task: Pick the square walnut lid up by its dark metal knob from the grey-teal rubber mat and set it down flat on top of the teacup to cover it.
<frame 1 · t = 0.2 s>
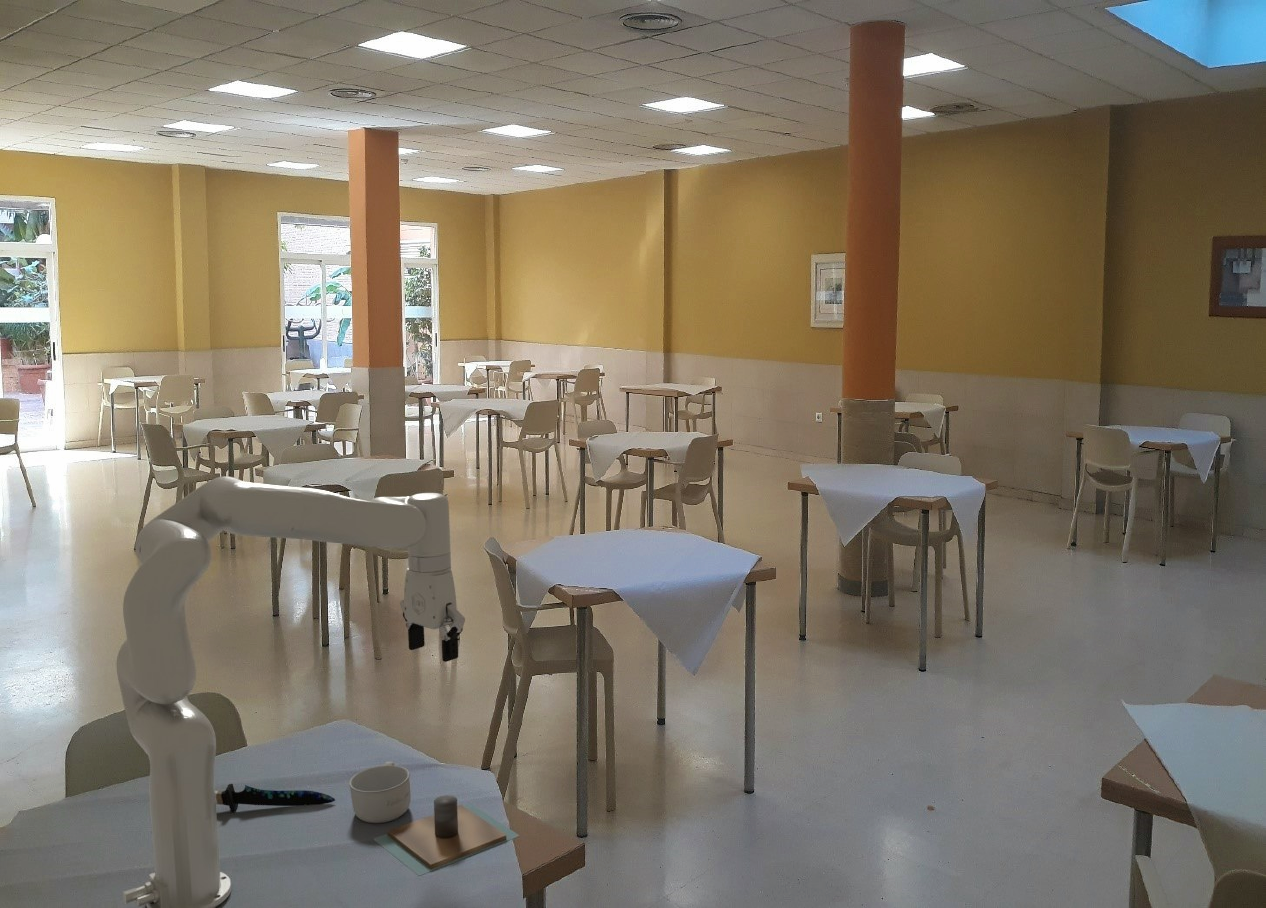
hand: (433, 653, 195), 30 cm above the table, tool pointing down, fingers open, 9 cm apart
teacup: (384, 814, 199), on the table
mat: (446, 842, 188), on the table
knife: (251, 810, 201), on the table
lid: (446, 837, 188), point 1 cm above the table, touching mat
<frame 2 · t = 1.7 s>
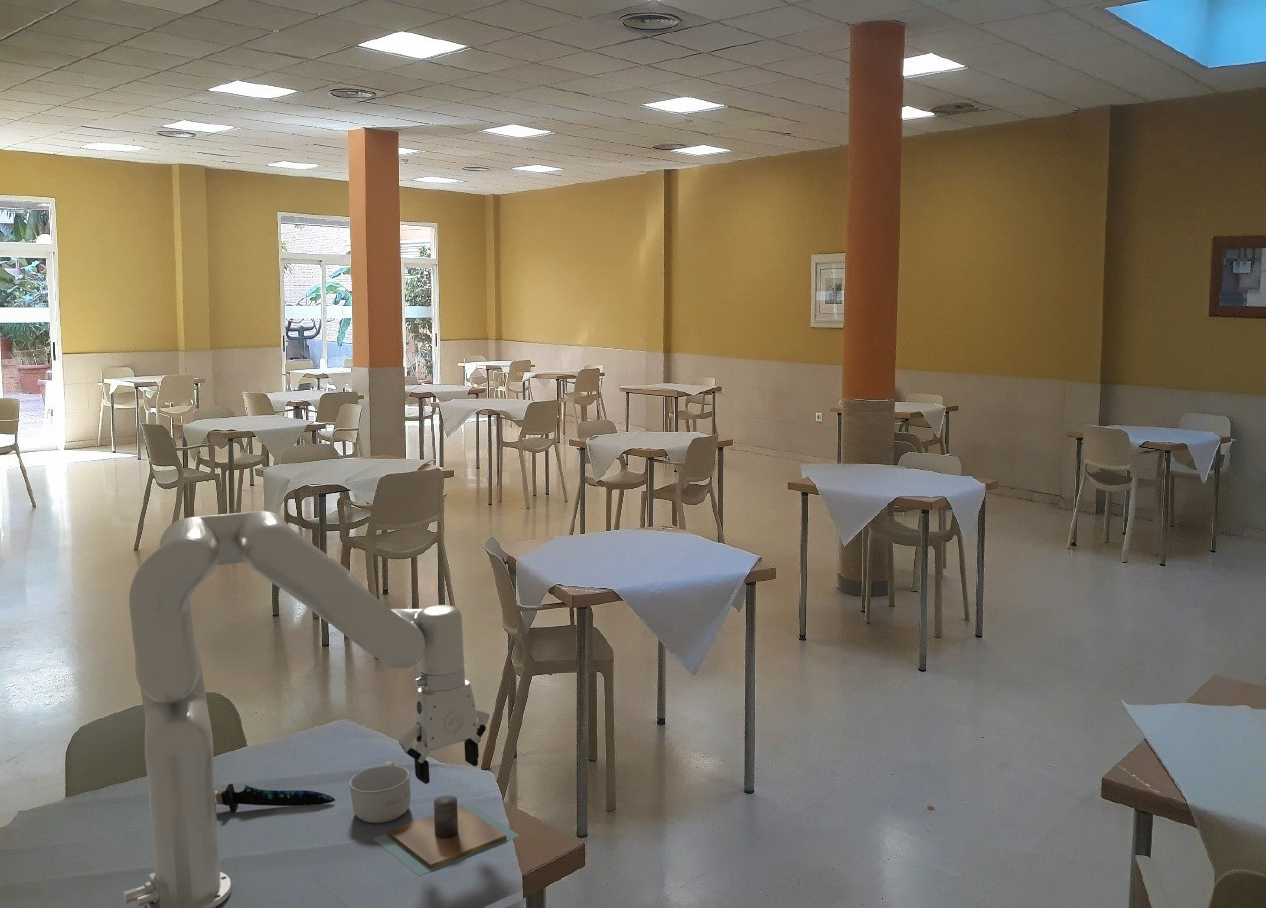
hand: (447, 772, 186), 13 cm above the table, tool pointing down, fingers open, 9 cm apart
nothing on the table moved.
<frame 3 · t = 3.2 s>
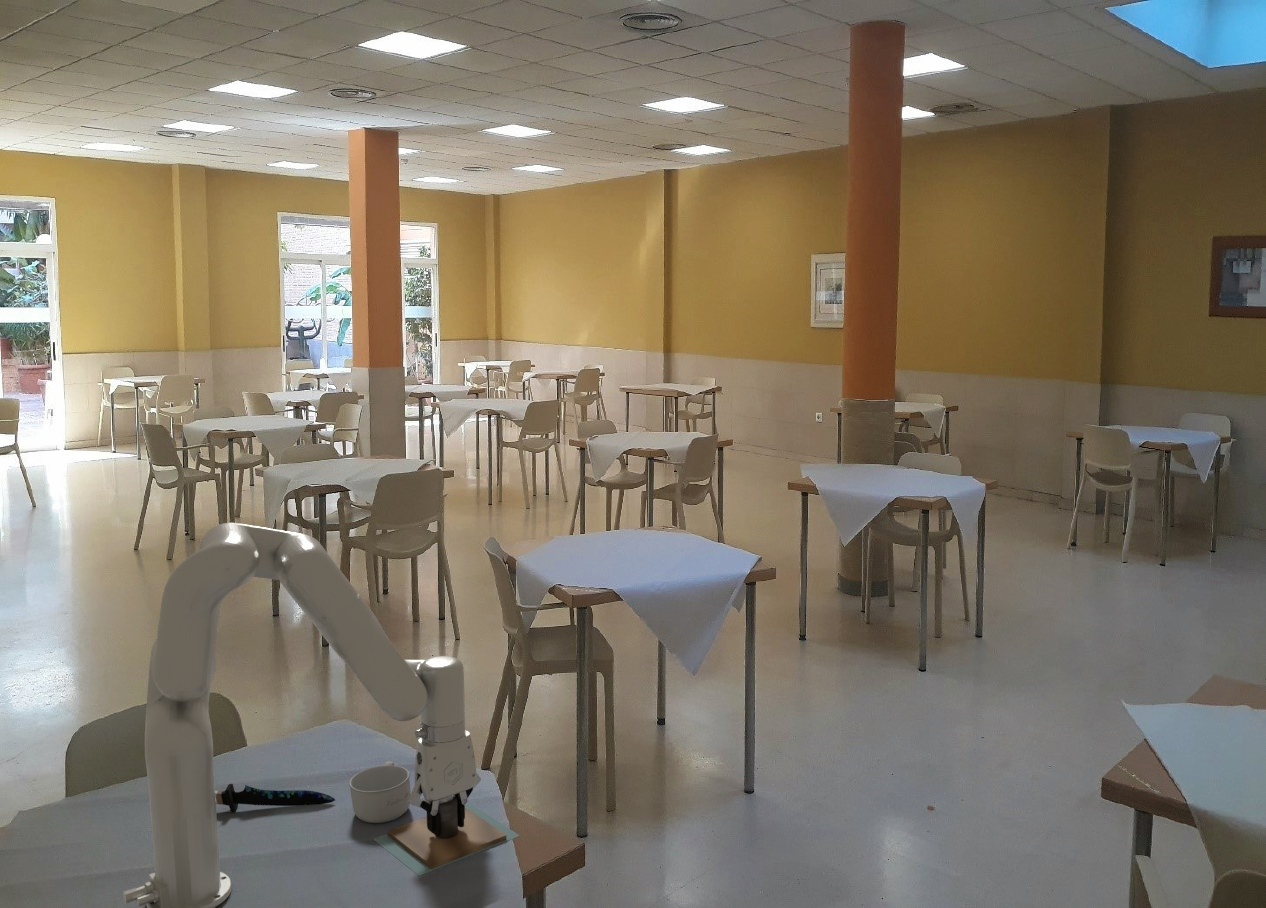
hand: (446, 827, 187), 3 cm above the table, tool pointing down, fingers closed on lid, 4 cm apart
lid: (446, 837, 188), point 1 cm above the table, touching gripper, mat
everything else where it was.
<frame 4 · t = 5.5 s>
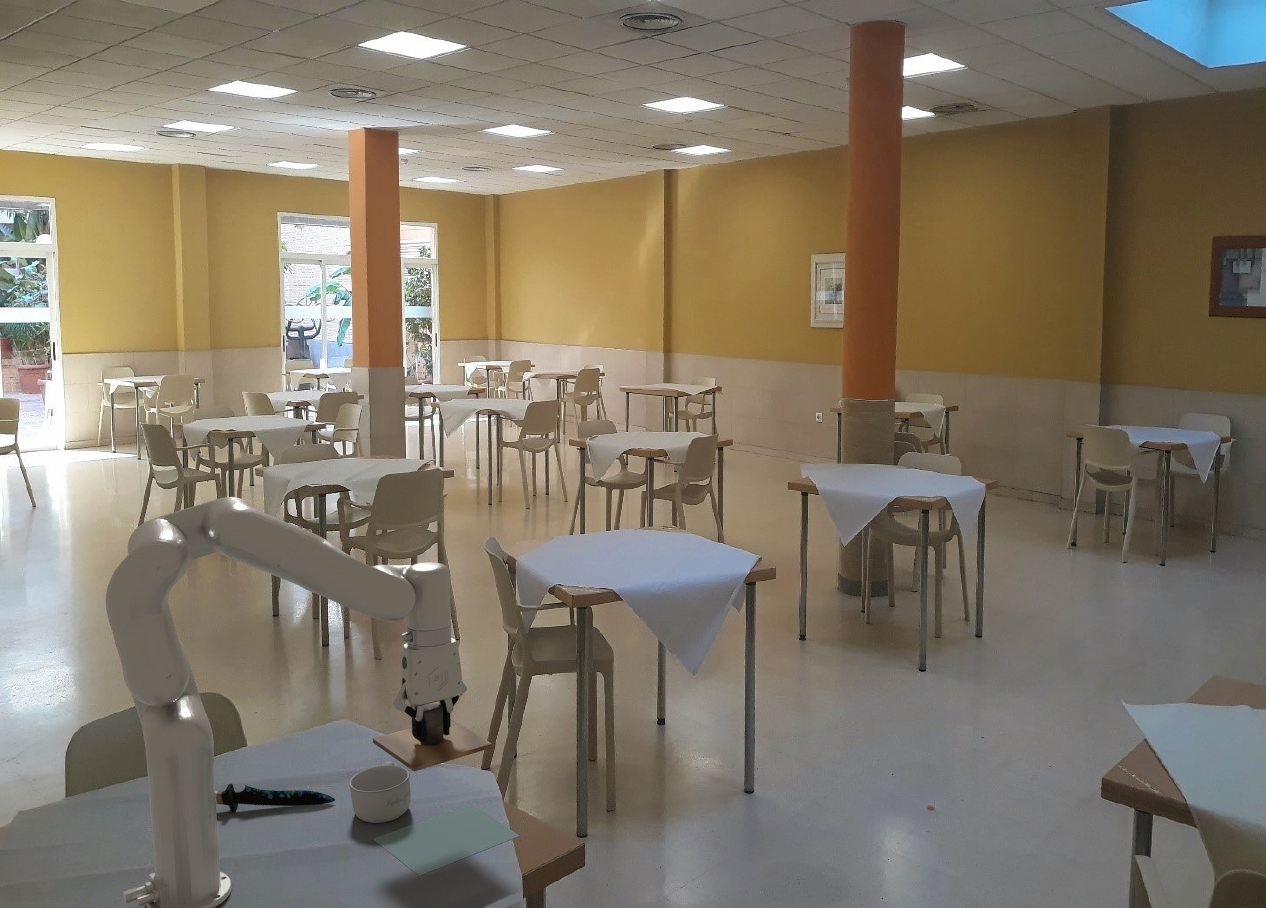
hand: (431, 735, 187), 19 cm above the table, tool pointing down, fingers closed on lid, 4 cm apart
lid: (432, 745, 187), point 17 cm above the table, touching gripper
everything else where it was.
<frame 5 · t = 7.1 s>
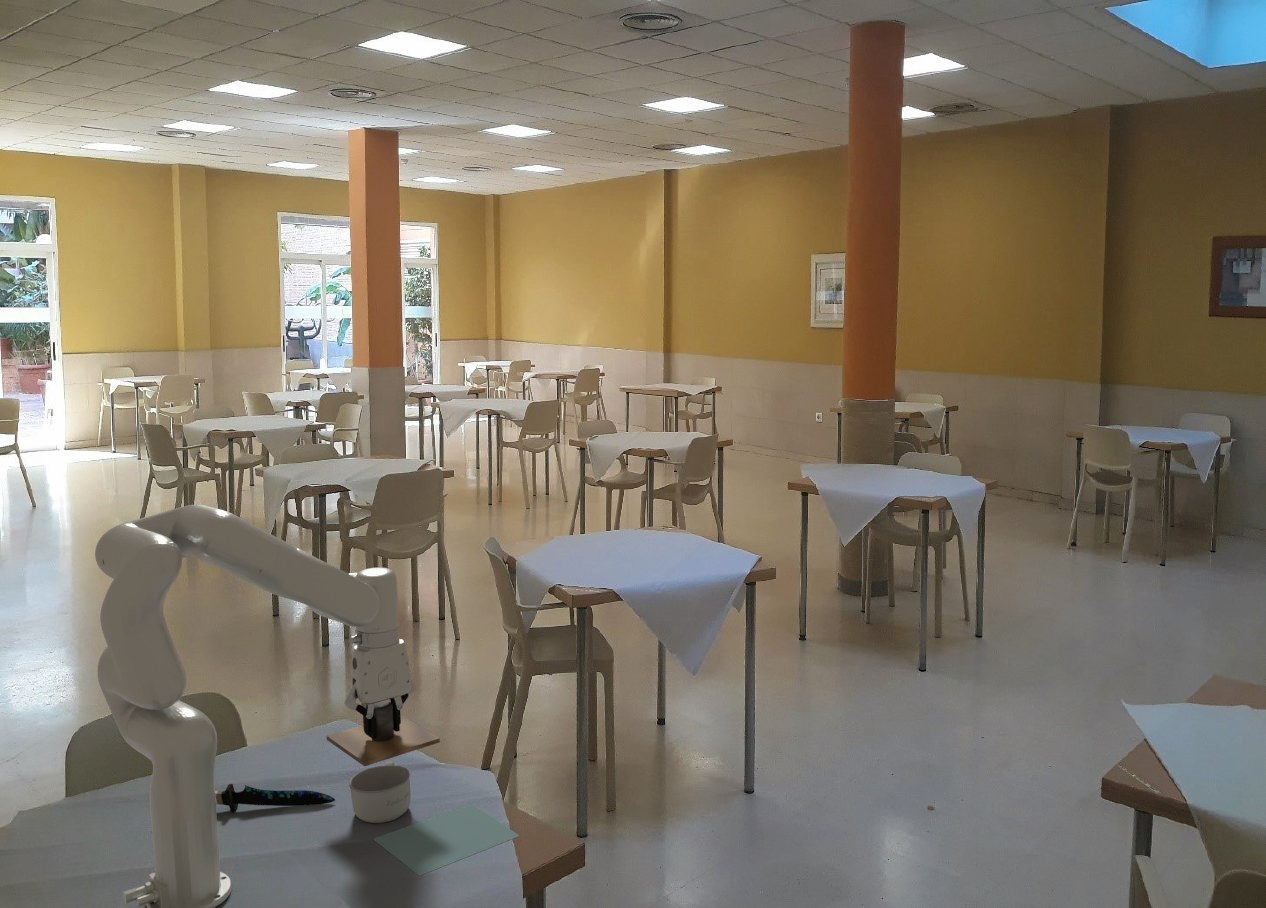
hand: (382, 731, 197), 16 cm above the table, tool pointing down, fingers closed on lid, 4 cm apart
lid: (383, 741, 197), point 14 cm above the table, touching gripper
everything else where it was.
when the fingers open (11 cm above the table, at t = 8.1 s): lid drops 2 cm, resting on teacup.
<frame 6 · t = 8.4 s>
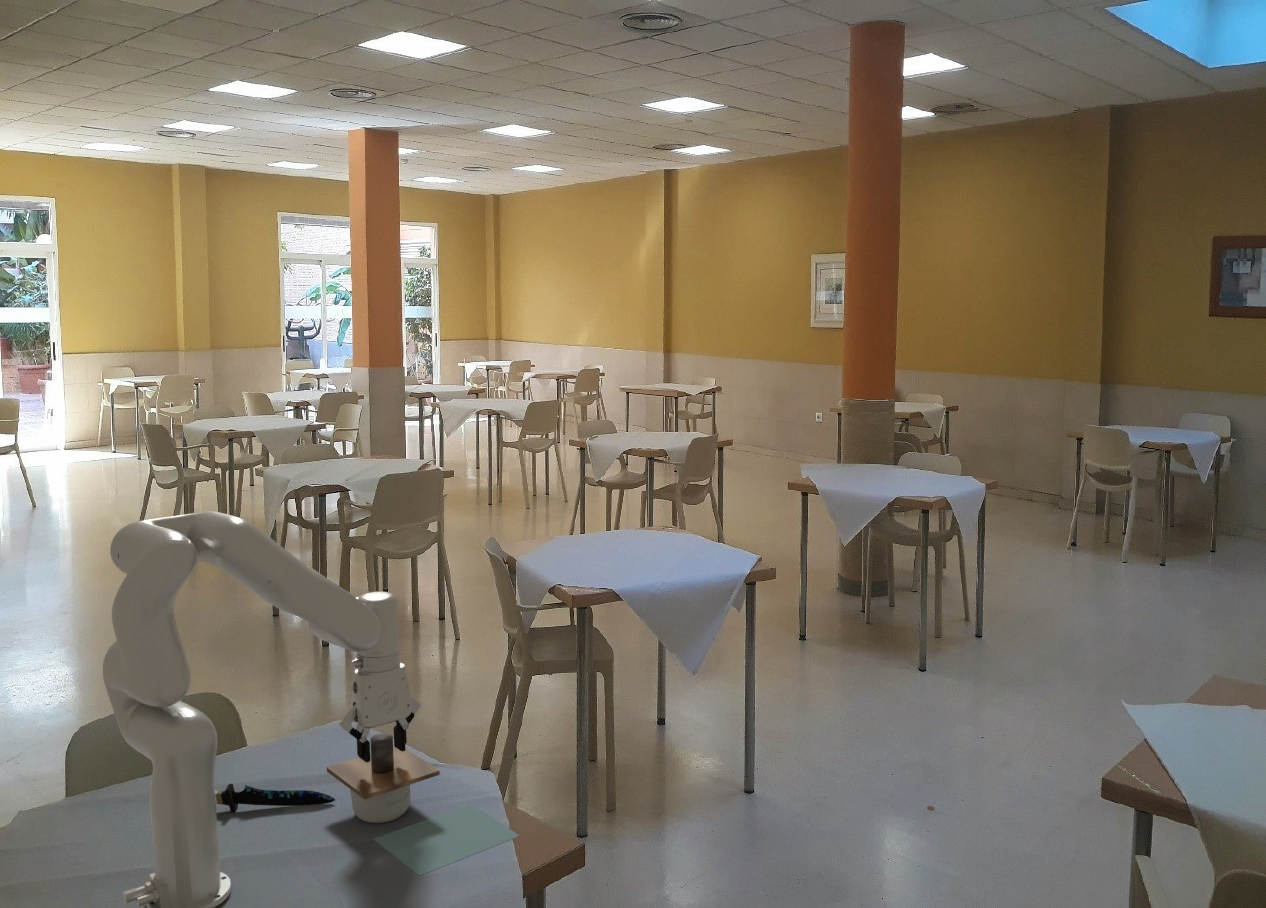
hand: (382, 753, 197), 12 cm above the table, tool pointing down, fingers open, 6 cm apart
teacup: (384, 814, 199), on the table, touching lid
lid: (383, 773, 197), point 8 cm above the table, touching teacup
everything else where it was.
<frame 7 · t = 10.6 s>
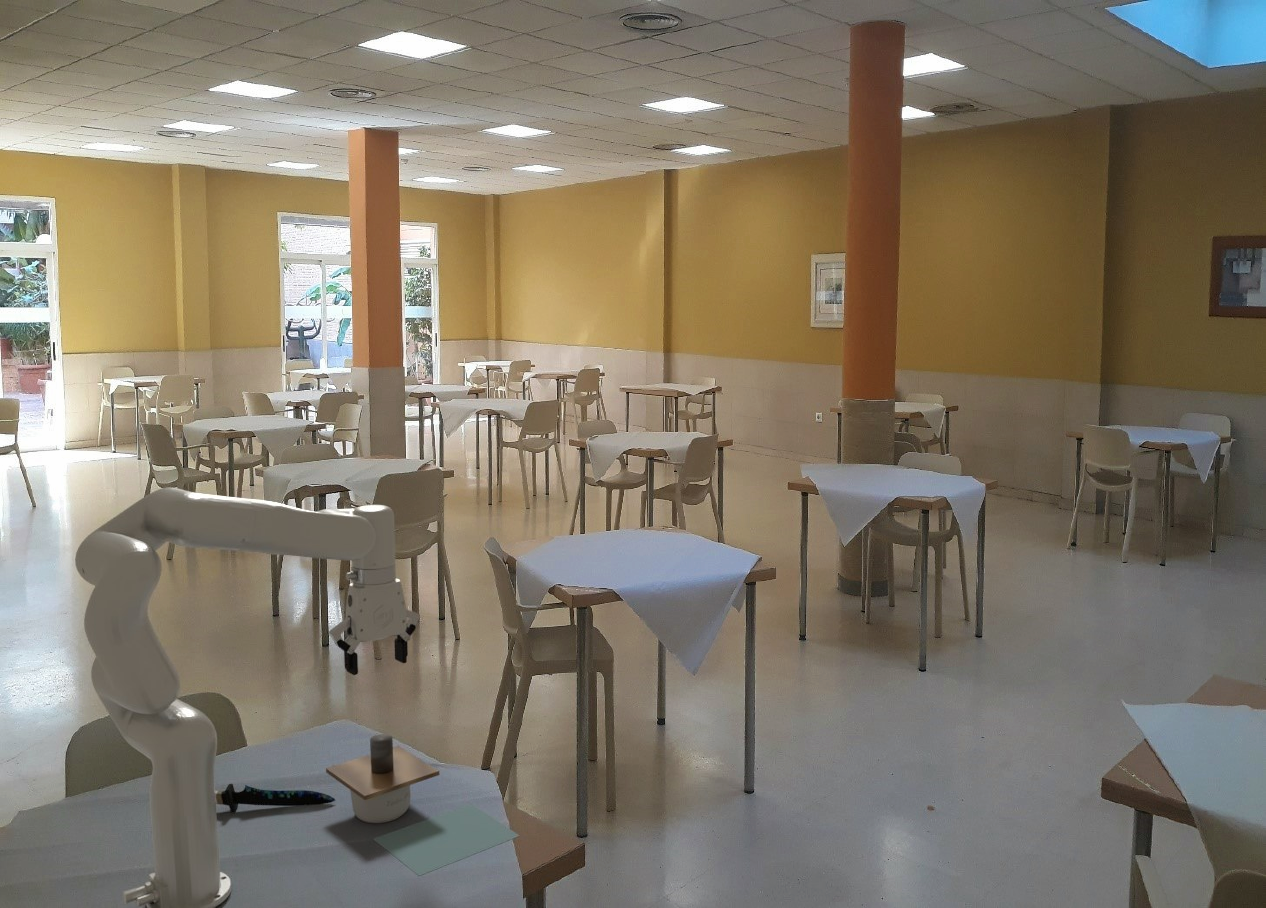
hand: (376, 667, 194), 29 cm above the table, tool pointing down, fingers open, 9 cm apart
nothing on the table moved.
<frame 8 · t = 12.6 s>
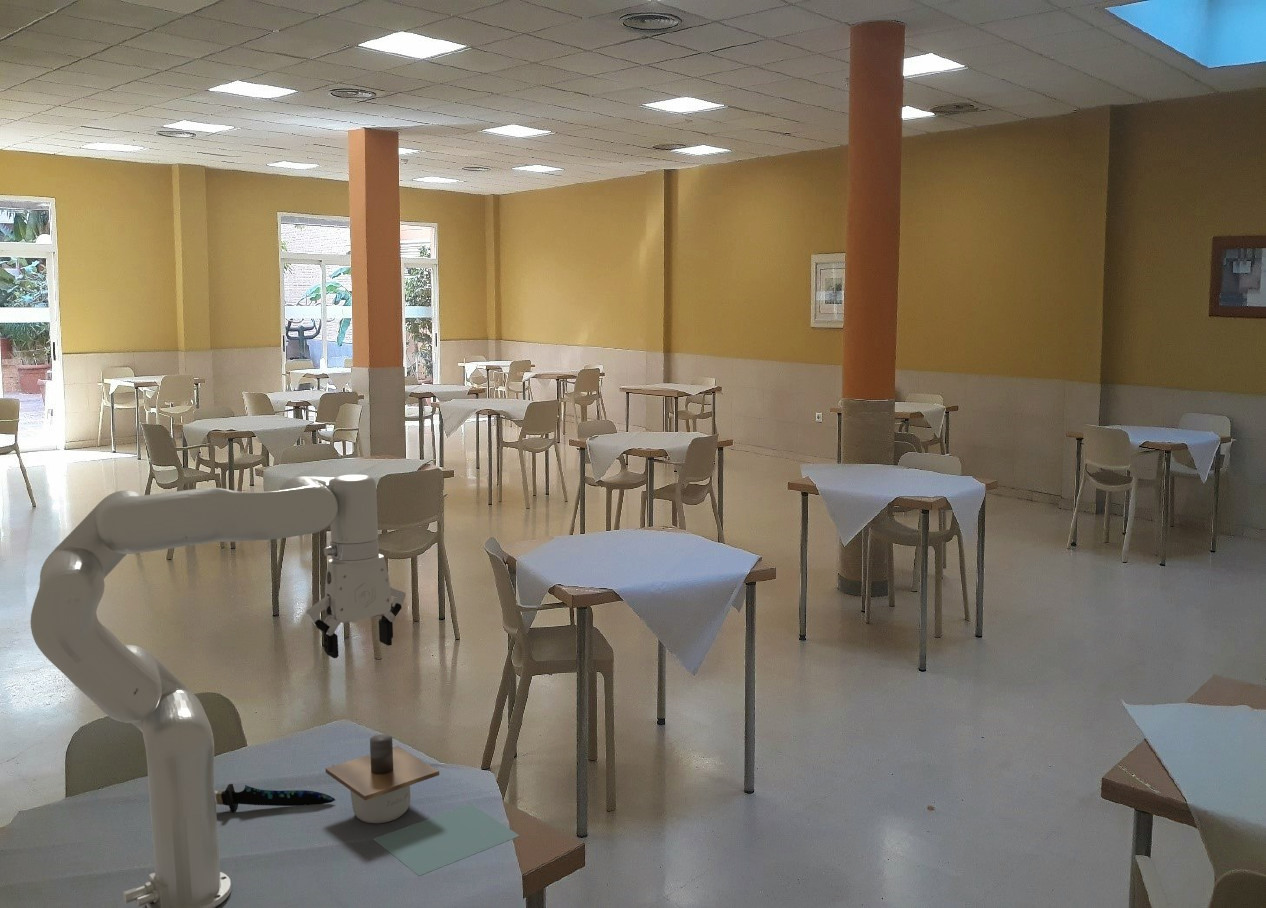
hand: (359, 649, 179), 36 cm above the table, tool pointing down, fingers open, 9 cm apart
nothing on the table moved.
at the end: lid 0.4 cm off-centre on the teacup, point 8.2 cm above the teacup's base; lid tilted 0°; teacup tilted 0° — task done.
